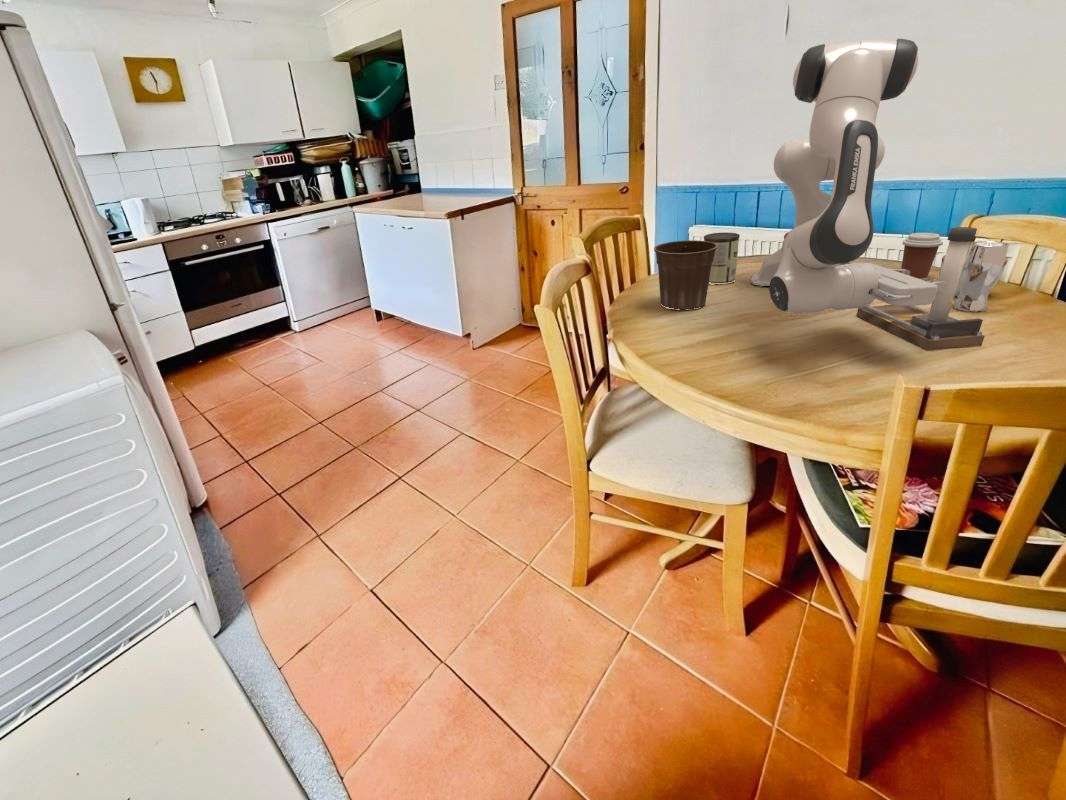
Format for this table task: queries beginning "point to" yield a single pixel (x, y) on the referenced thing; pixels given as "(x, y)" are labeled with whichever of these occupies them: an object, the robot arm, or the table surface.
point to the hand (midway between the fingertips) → (924, 279)
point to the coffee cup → (920, 253)
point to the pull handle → (948, 277)
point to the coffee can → (723, 257)
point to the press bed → (933, 338)
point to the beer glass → (980, 274)
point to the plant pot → (684, 272)
